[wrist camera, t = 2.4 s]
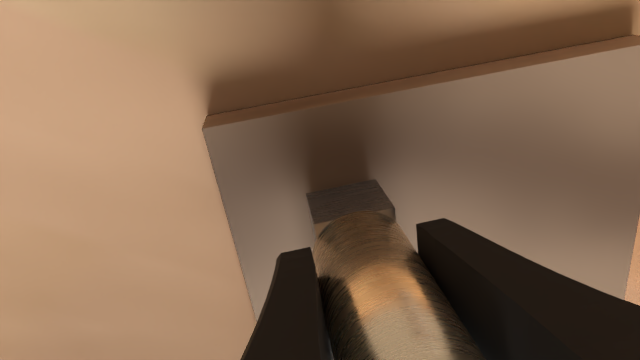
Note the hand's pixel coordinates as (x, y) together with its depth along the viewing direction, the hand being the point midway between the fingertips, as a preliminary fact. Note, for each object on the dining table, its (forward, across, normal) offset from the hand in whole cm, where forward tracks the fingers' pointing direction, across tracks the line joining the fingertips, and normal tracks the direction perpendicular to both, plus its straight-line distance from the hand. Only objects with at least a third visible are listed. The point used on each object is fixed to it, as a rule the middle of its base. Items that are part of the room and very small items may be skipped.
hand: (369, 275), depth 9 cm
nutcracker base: (+4, -3, +7) cm, 9 cm away
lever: (+3, 0, +7) cm, 7 cm away
